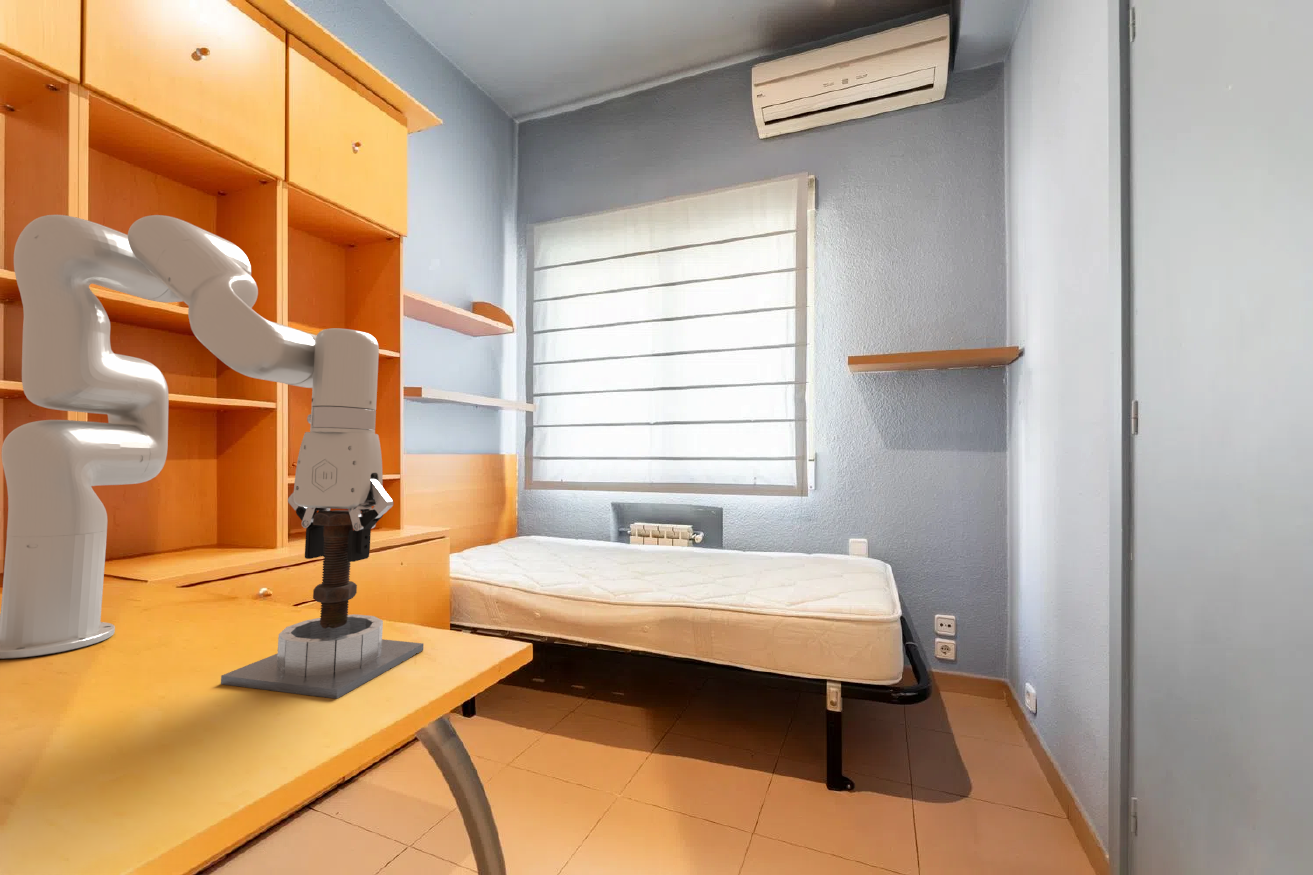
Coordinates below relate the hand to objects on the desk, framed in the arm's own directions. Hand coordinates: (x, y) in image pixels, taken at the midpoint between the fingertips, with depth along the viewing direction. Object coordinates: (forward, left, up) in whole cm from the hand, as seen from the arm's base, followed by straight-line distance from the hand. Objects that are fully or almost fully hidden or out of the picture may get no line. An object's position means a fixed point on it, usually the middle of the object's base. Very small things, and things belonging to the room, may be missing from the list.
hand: (337, 557), depth 71 cm
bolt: (0, 0, -9) cm, 9 cm away
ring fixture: (0, 0, -14) cm, 14 cm away
